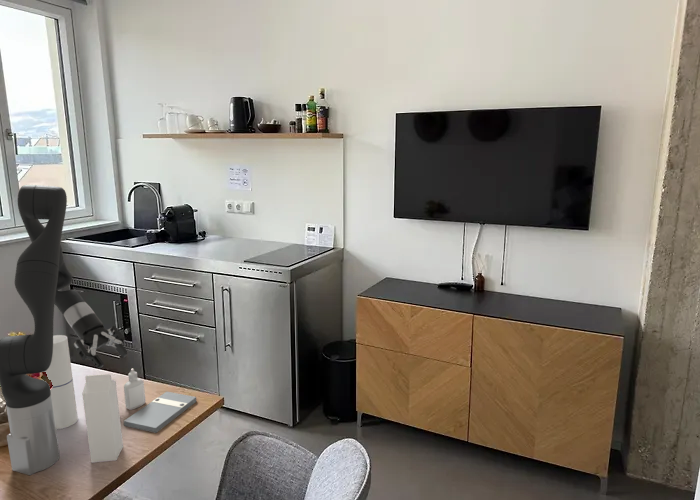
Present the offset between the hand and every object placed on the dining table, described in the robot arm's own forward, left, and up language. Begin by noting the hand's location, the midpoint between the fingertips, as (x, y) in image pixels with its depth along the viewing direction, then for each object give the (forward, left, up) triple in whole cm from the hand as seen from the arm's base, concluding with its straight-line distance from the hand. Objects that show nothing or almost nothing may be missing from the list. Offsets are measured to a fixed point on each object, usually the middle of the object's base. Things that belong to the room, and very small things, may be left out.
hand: (113, 361), depth 150 cm
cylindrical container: (-15, +6, -13) cm, 21 cm away
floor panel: (-2, -18, -13) cm, 22 cm away
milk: (-23, -18, -13) cm, 32 cm away
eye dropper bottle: (-1, -7, -13) cm, 15 cm away
